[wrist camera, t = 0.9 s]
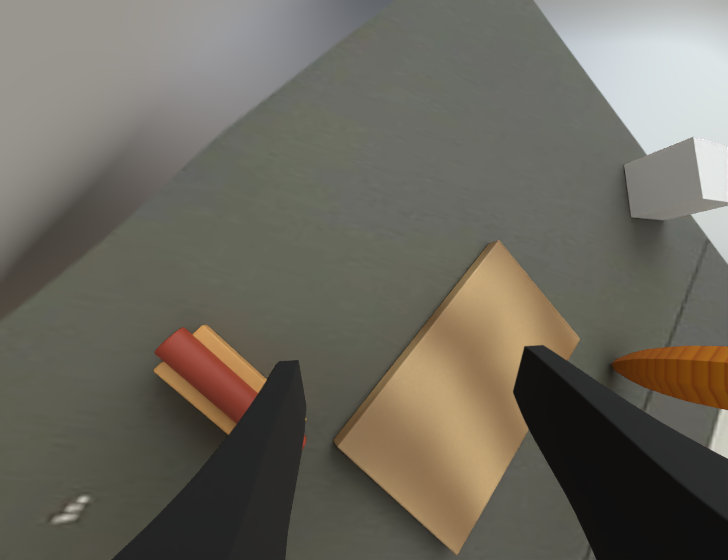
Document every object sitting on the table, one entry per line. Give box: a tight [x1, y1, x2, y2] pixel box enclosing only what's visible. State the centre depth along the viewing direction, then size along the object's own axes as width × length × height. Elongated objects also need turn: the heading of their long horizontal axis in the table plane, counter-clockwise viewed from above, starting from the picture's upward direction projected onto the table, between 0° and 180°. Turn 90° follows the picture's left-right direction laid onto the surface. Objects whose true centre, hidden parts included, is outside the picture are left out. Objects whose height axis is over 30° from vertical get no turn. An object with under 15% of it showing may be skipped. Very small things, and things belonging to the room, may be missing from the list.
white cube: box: [624, 137, 728, 220], centre depth 34 cm, size 6×6×6 cm
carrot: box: [611, 346, 728, 410], centre depth 25 cm, size 5×5×15 cm
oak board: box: [333, 240, 580, 555], centre depth 26 cm, size 20×12×1 cm, turn 137°
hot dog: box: [153, 325, 306, 449], centre depth 19 cm, size 3×9×3 cm, turn 47°
